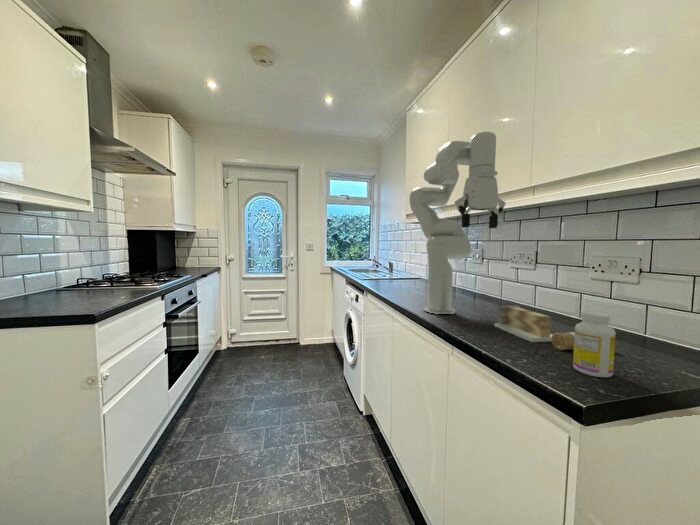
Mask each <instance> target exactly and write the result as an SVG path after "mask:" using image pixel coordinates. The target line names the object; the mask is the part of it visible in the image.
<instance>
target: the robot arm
mask: <svg viewBox="0 0 700 525" xmlns="http://www.w3.org/2000/svg"><path fill="white" fill-rule="evenodd" d="M496 150H497V136H496V134H495V133H494V132H492V131H482V132H478V133H476V134H474V135H472V137H471V138H470V141H464V140H463V141H462V140H452V141H451V140H450V141H448V142H447V143H445V144H444V145H443V146H442V147H440V148H439V149H438V151H437V153H436V156H435V161H434V162H433V163H432V164H431V165H429V166H428V167H427V168H425V170H424V172H423V179H424V181H425V182H426V183H427V184H429V185H432V186H433V185H434V186H441V187H434V186H433V187H430V186H429V187H428V186H420V187H419V186H418V187H415V188H413V189H412V190H411V192H410V194H409V206H410V209H411V210H410V211H411V212H412V214H413V216H415V218H416V219H417V221H418V223H419V226H420V228H421V230H422V233H423V235H424V236H425V238H426V239H427V243H426V251H427V260H428V272H427V274H428V278H427V283H428V284H427V299H426V303H427V306H424V307H423V312H425V311H426V312H425V313H427V312H429V313H428V314H431V313H434V314H433V315H438V314H451V315H454V314H455V313H456V309H455V308H452V300H453V297H452V296H453V268H452V264H451V263H450V262H449V260H463V259H467V258H468V257H469V256H470V254H471V251H472V246H471V242H470V239H469V238H468V236H467V234H466V232H465V231H464V228H469V227H470V222H471V219H470V218H471V214H470V212H471V211H488V212H489V215H490V216H489V217H488V218H489V219H488V228H489V229H496V228H497V227H498V225H499V224H498V222H499V216H500V214H501V213H502V212H503V211H504V208H505V206H506V204H507V202H505V201H504V200H502V199H501V198H499V189H498V188H499V187H498V182H497V178H496V176H497V175H498V171H497V170H496ZM458 165H459V166H468V167H469V168H468V177H467V178H466V179H465V182H464V186H463V194H462V196H461V197H459V198H457V199H456V200H454V204H455V206H456V209H457V211H458V212H459V214H460V215H461V223H459V222H458V221H457V220H454V219H448V218H447V219H446V218H445V219H442V218H440V217H439V216H438V214H437V212H436V210H434V209H433V208H432V207H444V206H445V205H447V203H448V202H449V200H450V198H451V196H452V194H453V192H454V190H455V188H456V185H457V183H458V181H459V178H460V172H459V168H458Z"/></svg>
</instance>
